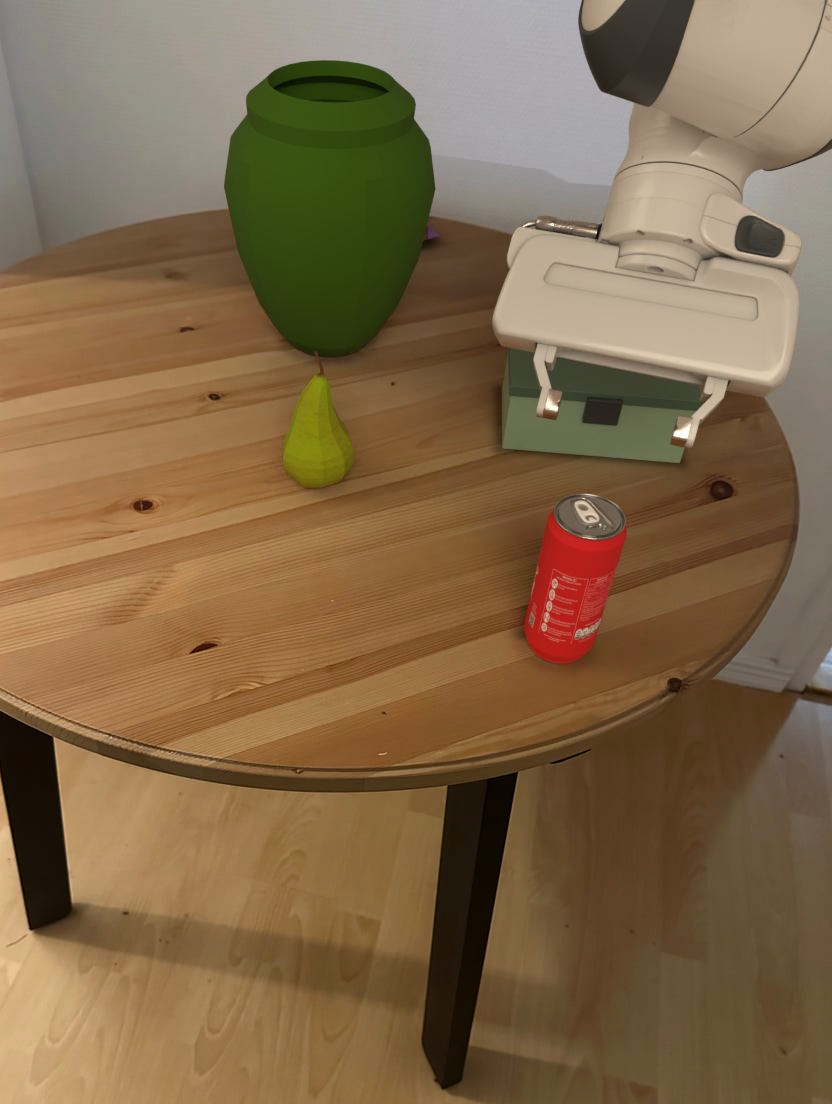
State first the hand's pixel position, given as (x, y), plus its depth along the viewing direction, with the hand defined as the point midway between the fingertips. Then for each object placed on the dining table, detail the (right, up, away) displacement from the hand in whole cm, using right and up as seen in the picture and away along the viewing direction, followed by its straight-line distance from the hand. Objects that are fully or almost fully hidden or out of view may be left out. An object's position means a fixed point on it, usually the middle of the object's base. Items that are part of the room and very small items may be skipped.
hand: (612, 431), depth 69 cm
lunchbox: (+4, +6, +24) cm, 25 cm away
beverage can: (-3, -15, +4) cm, 16 cm away
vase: (-21, +17, +34) cm, 43 cm away
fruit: (-21, -1, +17) cm, 27 cm away
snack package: (-13, +35, +52) cm, 64 cm away
